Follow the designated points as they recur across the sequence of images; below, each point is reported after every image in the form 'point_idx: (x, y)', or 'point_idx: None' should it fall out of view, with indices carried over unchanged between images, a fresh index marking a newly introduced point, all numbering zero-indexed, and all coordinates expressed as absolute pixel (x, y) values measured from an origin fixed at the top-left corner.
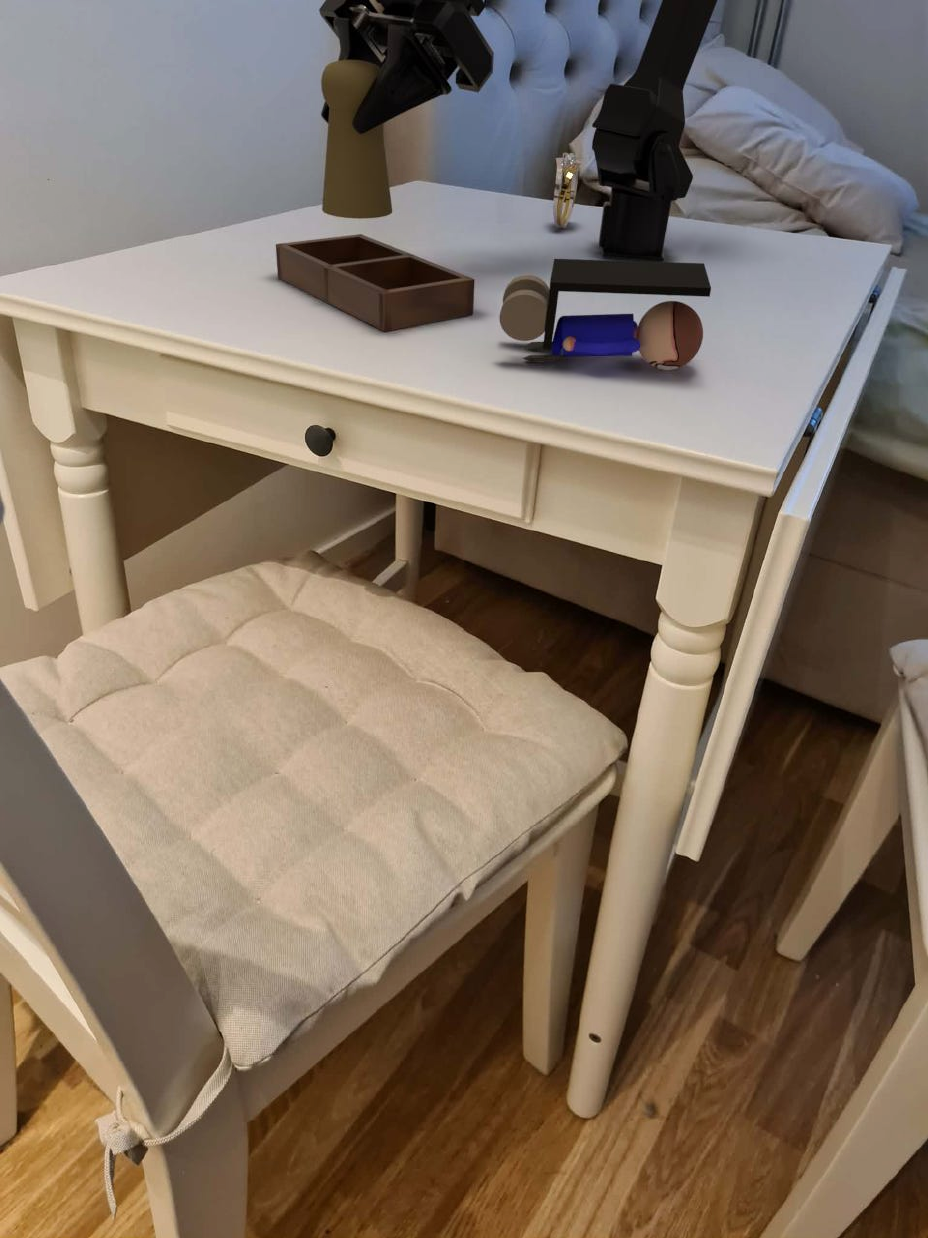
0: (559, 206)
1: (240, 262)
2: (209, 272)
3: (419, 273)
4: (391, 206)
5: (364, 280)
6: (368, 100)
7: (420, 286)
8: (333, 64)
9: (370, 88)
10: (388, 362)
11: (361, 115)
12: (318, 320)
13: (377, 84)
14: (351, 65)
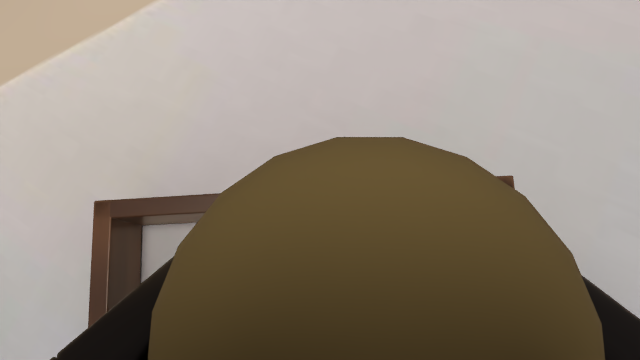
0: None
1: (632, 170)
2: (576, 89)
3: None
4: None
5: (181, 211)
6: (135, 291)
7: (95, 289)
8: (366, 178)
9: (142, 331)
10: (17, 148)
11: None
12: (229, 144)
13: (74, 355)
14: (229, 261)
